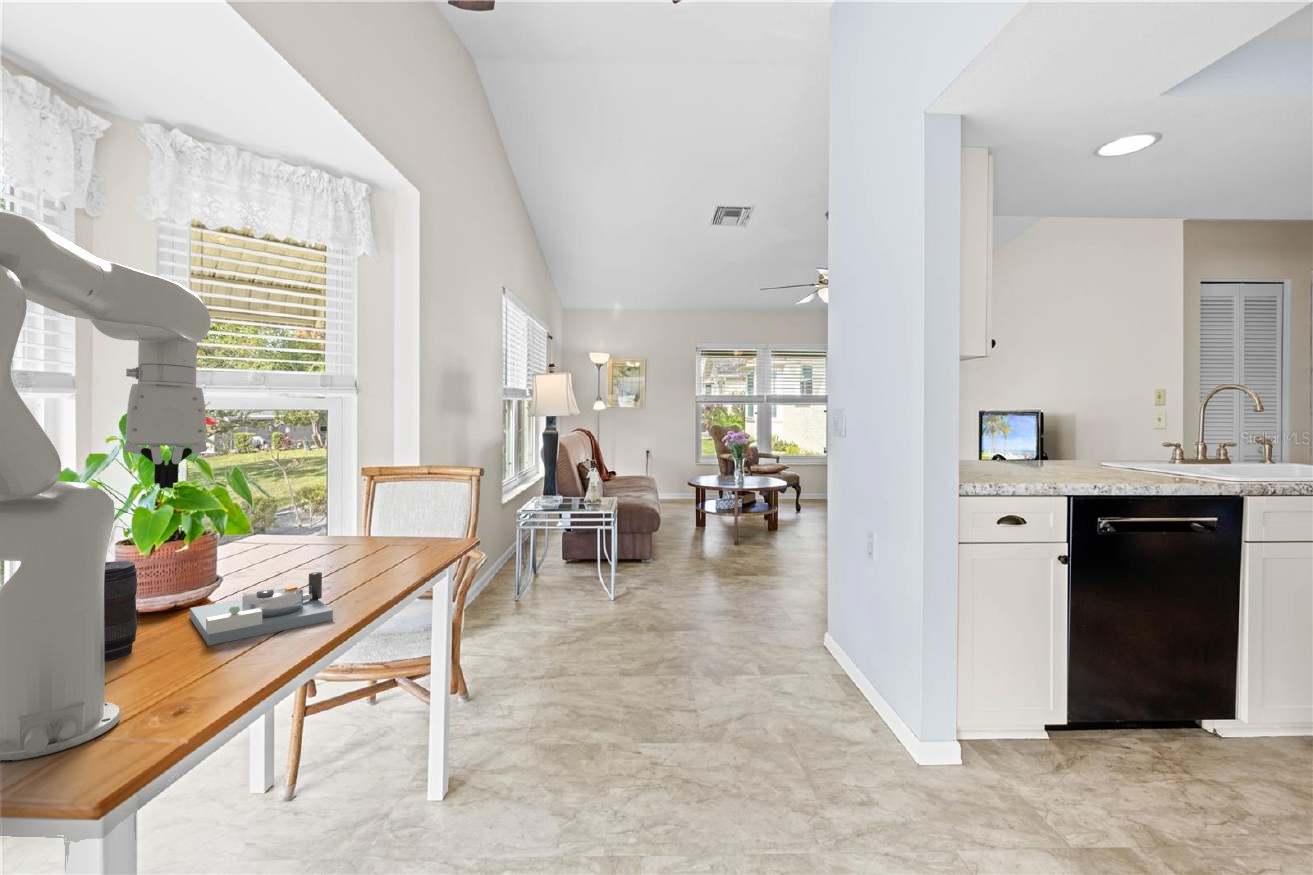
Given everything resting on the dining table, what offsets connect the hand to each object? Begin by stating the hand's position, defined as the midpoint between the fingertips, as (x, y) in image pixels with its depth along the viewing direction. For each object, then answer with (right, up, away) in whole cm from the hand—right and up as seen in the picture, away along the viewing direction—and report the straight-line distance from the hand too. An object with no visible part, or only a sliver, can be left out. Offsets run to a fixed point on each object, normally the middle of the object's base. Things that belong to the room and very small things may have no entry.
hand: (166, 487), depth 99 cm
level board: (+3, -28, +19) cm, 34 cm away
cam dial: (+7, -25, +20) cm, 33 cm away
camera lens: (-10, -28, 0) cm, 30 cm away
